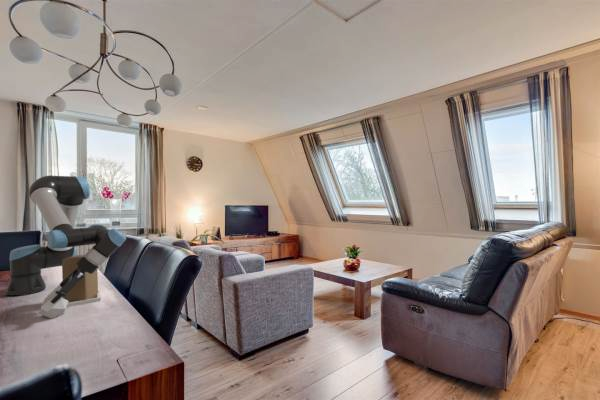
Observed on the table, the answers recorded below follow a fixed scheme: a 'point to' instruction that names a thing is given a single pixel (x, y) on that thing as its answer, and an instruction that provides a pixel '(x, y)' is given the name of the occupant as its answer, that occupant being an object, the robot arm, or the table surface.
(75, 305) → the base frame
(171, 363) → the table surface
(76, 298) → the wooden block
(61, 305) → the die
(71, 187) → the robot arm
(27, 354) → the table surface
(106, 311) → the table surface
